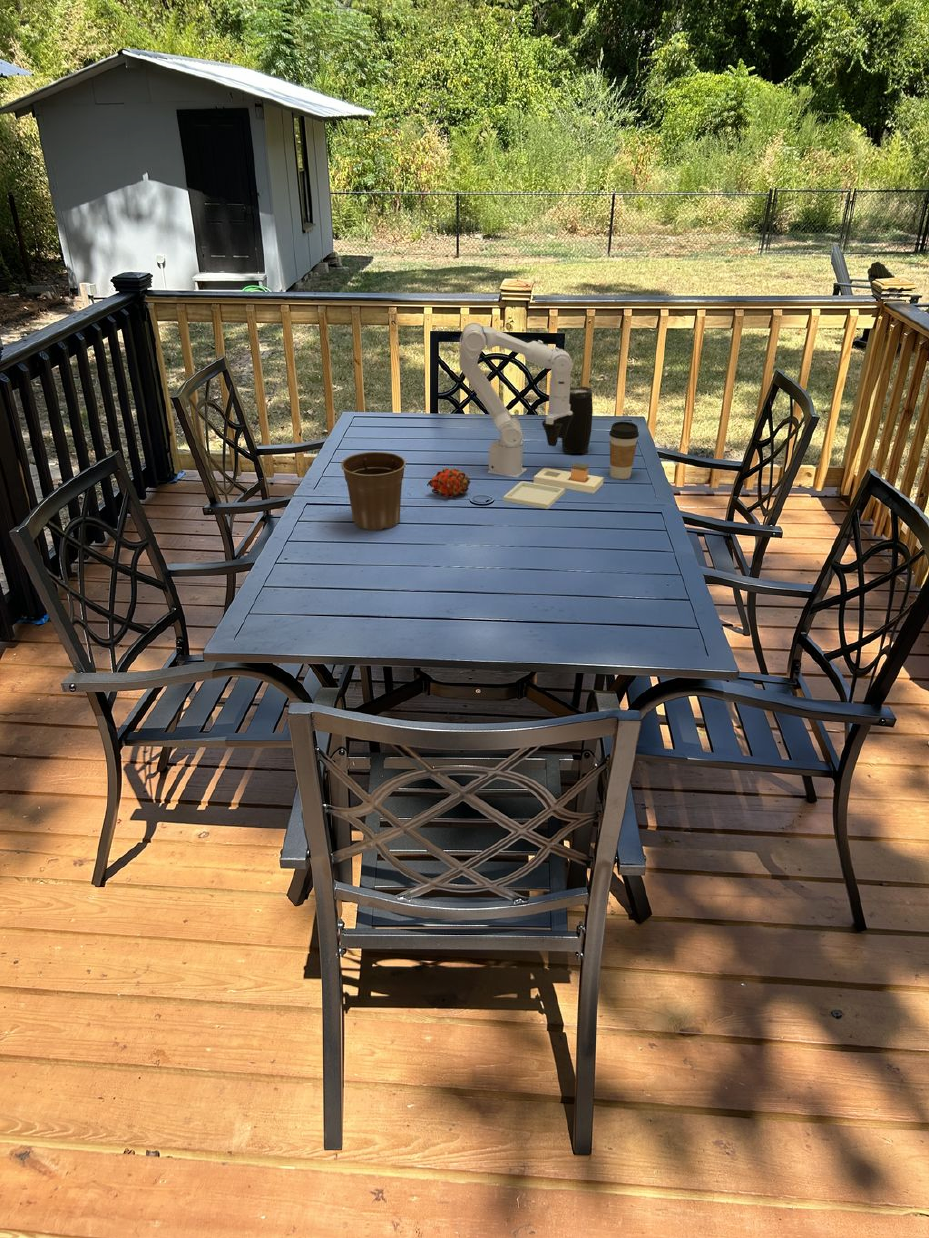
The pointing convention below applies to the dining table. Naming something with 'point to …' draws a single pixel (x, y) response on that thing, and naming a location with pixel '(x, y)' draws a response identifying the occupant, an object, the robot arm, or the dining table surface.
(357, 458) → the plant pot
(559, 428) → the robot arm
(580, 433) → the portable speaker
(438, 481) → the red lumpy ovoid
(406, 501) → the dining table surface
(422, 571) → the dining table surface
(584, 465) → the plug
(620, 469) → the coffee cup
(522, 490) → the tray
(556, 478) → the power strip
